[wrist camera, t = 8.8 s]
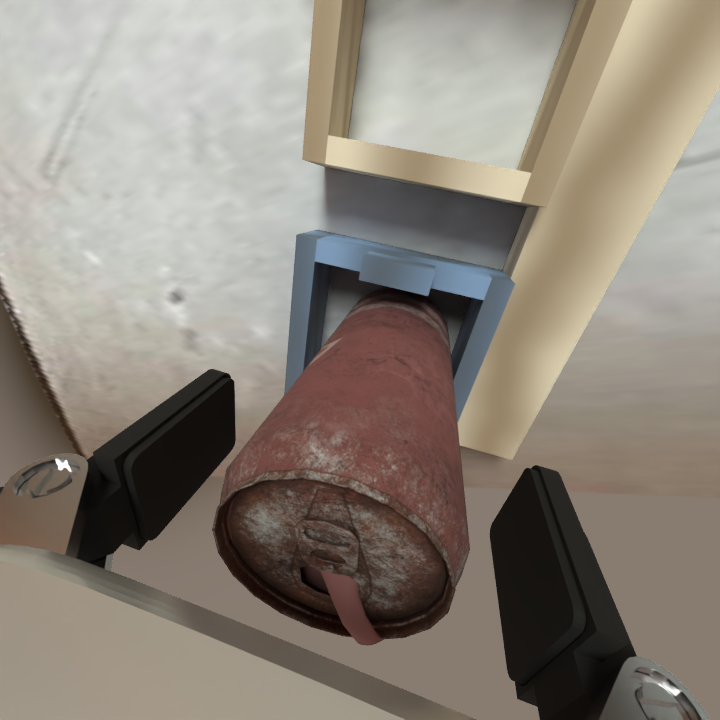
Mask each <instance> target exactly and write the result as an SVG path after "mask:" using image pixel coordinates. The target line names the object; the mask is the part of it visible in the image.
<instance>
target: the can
mask: <svg viewBox="0 0 720 720" xmlns="http://www.w3.org/2000/svg"><path fill="white" fill-rule="evenodd" d="M464 496H465V495H464V485H463V475H462V465H461V454H460V444H459V434H458V424H457V414H456V404H455V393H454V383H453V373H452V363H451V353H450V343H449V335H448V329H447V323H446V321H445V319H444V317H443V315H442V314H441V312H440V310H439V308H438V307H437V306H436V305H435V304H433V303H432V302H431V301H430V300H429V299H428V298H427V297H426V296H424V295H421V294H417V293H413V292H408V291H404V290H400V289H395V288H386V289H382V290H377V291H374V292H372V293H370V294H369V295H367V296H365V297H364V298H362V299H360V300H359V302H358V303H357V304H356V305H355V306H354V308H353V309H352V310H351V311H350V313H349V314H348V315H347V316H346V318H345V319H344V320H343V321H342V323H341V324H340V325H339V327H338V328H337V329H336V330H335V332H334V333H333V334H332V335H331V337H330V338H329V339H328V341H327V342H326V343H325V344H324V346H323V347H322V348H321V350H320V351H319V352H318V353H317V355H316V356H315V357H314V358H313V360H312V361H311V362H310V364H309V365H308V366H307V367H306V369H305V370H304V371H303V372H302V374H301V375H300V376H299V378H298V379H297V380H296V381H295V383H294V384H293V385H292V386H291V388H290V389H289V390H288V392H287V393H286V394H285V395H284V397H283V398H282V399H281V400H280V402H279V403H278V404H277V406H276V407H275V408H274V409H273V411H272V412H271V413H270V415H269V416H268V417H267V418H266V420H265V421H264V422H263V423H262V425H261V426H260V427H259V429H258V430H257V431H256V432H255V434H254V435H253V436H252V437H251V439H250V440H249V441H248V443H247V444H246V445H245V446H244V448H243V449H242V450H241V451H240V453H239V454H238V455H237V457H236V458H235V459H234V460H233V462H232V463H231V464H230V466H229V467H228V468H227V470H226V474H225V479H224V484H223V488H222V493H221V500H220V505H219V506H218V507H217V511H216V515H215V520H214V524H213V529H212V531H213V534H214V538H215V542H216V546H217V550H218V553H219V555H220V556H221V558H222V559H223V560H224V562H225V564H226V565H227V567H228V569H229V570H230V572H231V573H232V575H233V576H234V577H235V578H236V579H237V580H238V581H239V582H240V583H242V584H243V585H244V586H245V587H246V588H247V589H248V590H249V591H250V592H251V593H252V594H253V595H254V596H255V597H257V598H259V599H260V600H262V601H263V602H265V603H266V604H268V605H269V606H271V607H272V608H274V609H275V610H277V611H278V612H280V613H281V614H284V615H286V616H288V617H290V618H293V619H295V620H297V621H299V622H301V623H303V624H305V625H308V626H310V627H313V628H316V629H320V630H323V631H327V632H330V633H334V634H337V635H341V636H346V637H353V638H354V639H355V640H356V641H357V642H358V643H359V644H361V645H373V644H376V643H378V642H380V641H382V640H384V639H393V638H405V637H407V636H410V635H413V634H416V633H419V632H422V631H425V630H428V629H430V628H431V627H432V626H434V625H435V624H436V623H437V622H438V621H439V620H440V619H442V618H443V617H444V616H445V615H446V614H447V613H448V611H449V609H450V605H451V602H452V599H453V596H454V593H455V587H456V585H457V583H458V581H459V579H460V577H461V575H462V572H463V569H464V566H465V563H466V560H467V557H468V554H469V550H470V546H469V536H468V525H467V516H466V506H465V497H464Z"/></svg>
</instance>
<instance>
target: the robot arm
mask: <svg viewBox="0 0 720 720" xmlns="http://www.w3.org/2000/svg"><path fill="white" fill-rule="evenodd" d="M234 444H235V391H234V381H233V380H232V379H231V377H230V375H229V374H228V373H224V372H221V371H218V370H214V369H210V370H208V371H207V372H205V373H204V374H202V375H201V376H200V377H198V378H197V379H195V380H194V381H192V382H191V383H190V384H188V385H187V386H185V387H184V388H183V389H181V390H180V391H178V392H177V393H176V394H174V395H173V396H171V397H170V398H169V399H167V400H166V401H164V402H163V403H162V404H160V405H159V406H157V407H156V408H155V409H153V410H152V411H150V412H149V413H148V414H146V415H145V416H143V417H142V418H140V419H139V420H138V421H136V422H135V423H133V424H132V425H131V426H129V427H128V428H126V429H125V430H124V431H122V432H121V433H119V434H118V435H117V436H115V437H114V438H112V439H111V440H110V441H108V442H107V443H105V444H104V445H103V446H101V447H100V448H98V449H97V450H96V451H94V452H93V454H94V455H93V456H92V457H90V458H89V459H88V460H86V459H85V458H84V457H81V456H79V455H76V454H57V455H52V456H48V457H44V458H42V459H39V460H37V461H34V462H32V463H30V464H28V465H27V466H25V467H23V468H22V469H20V470H19V471H17V472H16V473H15V474H14V475H12V476H11V477H10V479H9V480H8V481H7V483H6V484H5V486H4V487H0V720H476V719H473V718H471V717H469V716H466V715H464V714H462V713H459V712H457V711H454V710H452V709H450V708H447V707H445V706H442V705H440V704H437V703H435V702H433V701H430V700H428V699H425V698H423V697H421V696H418V695H416V694H413V693H410V692H408V691H406V690H404V689H401V688H399V687H396V686H394V685H391V684H389V683H387V682H384V681H382V680H379V679H377V678H374V677H372V676H370V675H367V674H365V673H362V672H360V671H358V670H355V669H353V668H350V667H348V666H345V665H343V664H340V663H338V662H336V661H333V660H331V659H328V658H326V657H323V656H321V655H318V654H316V653H313V652H311V651H309V650H306V649H303V648H301V647H299V646H296V645H294V644H291V643H289V642H286V641H284V640H282V639H279V638H277V637H274V636H272V635H269V634H267V633H264V632H262V631H259V630H257V629H255V628H252V627H250V626H247V625H245V624H242V623H240V622H237V621H235V620H232V619H230V618H227V617H225V616H222V615H220V614H217V613H215V612H212V611H210V610H207V609H205V608H202V607H200V606H197V605H195V604H192V603H190V602H187V601H185V600H182V599H180V598H177V597H175V596H172V595H170V594H167V593H165V592H162V591H160V590H157V589H155V588H152V587H150V586H147V585H145V584H142V583H140V582H137V581H135V580H132V579H130V578H127V577H124V576H122V575H119V574H116V573H114V572H111V566H112V560H113V553H114V552H115V551H116V550H117V549H118V548H119V546H120V545H121V544H124V545H127V546H129V547H132V548H134V549H137V550H140V549H141V548H142V547H143V546H144V545H145V543H146V542H147V541H148V540H153V539H155V538H156V537H157V536H158V535H159V534H160V533H161V532H162V531H163V529H164V528H165V527H166V526H167V525H168V523H169V522H170V521H171V520H172V519H173V518H174V517H175V515H176V514H177V513H178V512H179V511H180V510H181V508H182V507H183V506H184V505H185V504H186V503H187V501H188V500H189V499H190V498H191V497H192V496H193V495H194V493H195V492H196V491H197V490H198V489H199V488H200V486H201V485H202V484H203V483H204V482H205V480H206V479H207V478H208V477H209V476H210V475H211V474H212V472H213V471H214V470H215V469H216V468H217V467H218V465H219V464H220V463H221V462H222V461H223V460H224V459H225V457H226V456H227V455H228V454H229V453H230V452H231V450H232V449H233V447H234ZM490 541H491V549H492V556H493V564H494V571H495V579H496V587H497V595H498V601H499V602H498V603H499V610H500V617H501V626H502V633H503V640H504V649H505V656H506V664H507V670H508V674H509V677H510V679H511V680H513V681H515V685H516V692H517V699H520V700H522V701H525V702H527V703H530V704H532V705H535V706H537V707H538V711H539V716H540V720H709V718H708V716H707V714H706V712H705V711H704V709H703V708H702V707H701V705H700V704H699V703H698V701H697V700H696V699H695V697H694V696H693V695H692V693H691V692H690V691H689V690H688V689H687V688H686V687H685V686H684V685H683V684H682V683H681V682H680V681H679V680H678V679H677V678H676V677H675V676H674V675H672V674H671V673H670V672H668V671H667V670H666V669H665V668H664V667H662V666H660V665H659V664H657V663H655V662H653V661H652V660H650V659H646V658H643V657H639V656H636V653H635V651H634V649H633V646H632V644H631V641H630V639H629V636H628V634H627V632H626V629H625V627H624V625H623V622H622V620H621V617H620V616H619V613H618V610H617V608H616V605H615V603H614V601H613V598H612V596H611V593H610V591H609V589H608V586H607V584H606V581H605V579H604V577H603V574H602V572H601V570H600V567H599V565H598V563H597V560H596V557H595V555H594V553H593V550H592V548H591V546H590V543H589V541H588V538H587V537H586V535H585V533H584V532H583V529H582V527H581V525H580V522H579V520H578V517H577V515H576V512H575V510H574V507H573V505H572V503H571V500H570V498H569V495H568V493H567V491H566V488H565V486H564V483H563V481H562V478H561V476H560V474H559V473H558V472H557V471H554V470H551V469H547V468H544V467H541V466H537V465H535V466H533V467H532V468H531V469H530V468H526V469H525V470H524V472H523V473H522V475H521V477H520V478H519V480H518V482H517V483H516V485H515V487H514V488H513V490H512V492H511V493H510V495H509V497H508V498H507V500H506V502H505V503H504V505H503V506H502V508H501V510H500V512H499V513H498V515H497V516H496V518H495V520H494V521H493V523H492V525H491V529H490Z"/></svg>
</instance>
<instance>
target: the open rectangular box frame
mask: <svg viewBox="0 0 720 720" xmlns="http://www.w3.org/2000/svg"><path fill="white" fill-rule="evenodd" d="M365 2H366V0H315V1H314V14H313V27H312V40H311V53H310V66H309V79H308V92H307V106H306V119H305V132H304V145H303V158H302V160H305V161H308V162H312V163H315V164H318V165H321V166H324V167H329V168H334V169H339V170H344V171H349V172H354V173H359V174H364V175H369V176H374V177H379V178H385V179H390V180H395V181H400V182H405V183H410V184H415V185H420V186H425V187H430V188H435V189H440V190H445V191H451V192H456V193H461V194H466V195H471V196H476V197H481V198H486V199H491V200H496V201H501V202H506V203H512V204H517V205H522V206H527V208H526V211H525V214H524V216H523V219H522V221H521V224H520V226H519V229H518V232H517V234H516V237H515V239H514V242H513V245H512V247H511V250H510V252H509V255H508V258H507V260H506V263H505V265H504V268H503V270H498V269H494V268H489V267H484V266H480V265H475V264H471V263H466V262H462V261H457V260H453V259H448V258H443V257H439V256H434V255H430V254H425V253H421V252H416V251H412V250H407V249H402V248H398V247H393V246H389V245H384V244H380V243H375V242H371V241H366V240H361V239H357V238H352V237H348V236H343V235H339V234H334V233H330V232H325V231H320V230H315V231H311V232H307V233H302V234H298V235H297V236H296V249H295V263H294V276H293V289H292V302H291V315H290V328H289V341H288V354H287V367H286V380H285V393H284V395H285V394H286V393H287V392H288V390H289V389H290V388H291V386H292V385H293V384H294V383H295V381H296V380H297V379H298V378H299V376H300V375H301V374H302V372H303V371H304V370H305V369H306V367H307V366H308V365H309V364H310V362H311V361H312V360H313V358H314V357H315V356H316V355H317V353H318V352H319V351H320V346H321V338H322V331H323V323H324V315H325V308H326V300H327V292H328V285H329V277H330V269H331V265H333V266H337V267H341V268H346V269H350V270H354V271H359V272H360V275H359V280H361V281H366V282H370V283H374V284H378V285H383V286H387V287H391V288H395V289H400V290H404V291H408V292H413V293H417V294H421V295H425V296H428V295H429V291H430V288H433V289H437V290H441V291H446V292H450V293H454V294H459V295H463V296H467V297H472V298H471V301H470V304H469V307H468V310H467V312H466V315H465V318H464V321H463V324H462V327H461V329H460V332H459V335H458V338H457V341H456V343H455V346H454V349H453V352H452V355H451V363H452V373H453V383H454V393H455V404H456V414H457V424H458V434H459V444H460V446H464V447H467V448H471V449H475V450H478V451H482V452H485V453H489V454H492V455H496V456H500V457H503V458H507V459H510V460H512V459H513V457H514V455H515V453H516V451H517V450H518V448H519V446H520V444H521V442H522V441H523V439H524V437H525V435H526V433H527V432H528V430H529V428H530V426H531V424H532V423H533V421H534V419H535V417H536V416H537V414H538V412H539V410H540V408H541V407H542V405H543V403H544V401H545V399H546V398H547V396H548V394H549V392H550V390H551V389H552V387H553V385H554V383H555V381H556V380H557V378H558V376H559V374H560V372H561V371H562V369H563V367H564V365H565V364H566V362H567V360H568V358H569V356H570V355H571V353H572V351H573V349H574V347H575V346H576V344H577V342H578V340H579V338H580V337H581V335H582V333H583V331H584V329H585V328H586V326H587V324H588V322H589V320H590V319H591V317H592V315H593V313H594V312H595V310H596V308H597V306H598V304H599V303H600V301H601V299H602V297H603V295H604V294H605V292H606V290H607V288H608V286H609V285H610V283H611V281H612V279H613V277H614V276H615V274H616V272H617V270H618V268H619V267H620V265H621V263H622V261H623V260H624V258H625V256H626V254H627V252H628V251H629V249H630V247H631V245H632V243H633V242H634V240H635V238H636V236H637V234H638V233H639V231H640V229H641V227H642V225H643V224H644V222H645V220H646V218H647V216H648V215H649V213H650V211H651V209H652V208H653V206H654V204H655V202H656V200H657V199H658V197H659V195H660V193H661V191H662V190H663V188H664V186H665V184H666V182H667V181H668V179H669V177H670V175H671V173H672V172H673V170H674V168H675V166H676V164H677V163H678V161H679V159H680V157H681V156H682V154H683V152H684V150H685V148H686V147H687V145H688V143H689V141H690V139H691V138H692V136H693V134H694V132H695V130H696V129H697V127H698V125H699V123H700V121H701V120H702V118H703V116H704V114H705V112H706V111H707V109H708V107H709V105H710V104H711V102H712V100H713V98H714V96H715V95H716V93H717V91H718V89H719V87H720V0H577V3H576V6H575V9H574V11H573V14H572V17H571V20H570V23H569V25H568V28H567V31H566V34H565V37H564V40H563V42H562V45H561V48H560V51H559V54H558V56H557V59H556V62H555V65H554V68H553V70H552V73H551V76H550V79H549V82H548V85H547V87H546V90H545V93H544V96H543V99H542V101H541V104H540V107H539V110H538V113H537V116H536V118H535V121H534V124H533V127H532V130H531V132H530V135H529V138H528V141H527V144H526V146H525V149H524V152H523V155H522V158H521V161H520V163H519V166H518V169H517V170H513V169H508V168H502V167H497V166H492V165H486V164H481V163H475V162H470V161H465V160H459V159H454V158H449V157H443V156H438V155H432V154H427V153H422V152H416V151H411V150H405V149H400V148H395V147H389V146H384V145H379V144H373V143H368V142H362V141H357V140H352V139H348V132H349V124H350V116H351V109H352V101H353V94H354V86H355V78H356V71H357V63H358V55H359V48H360V40H361V32H362V25H363V17H364V9H365Z"/></svg>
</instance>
